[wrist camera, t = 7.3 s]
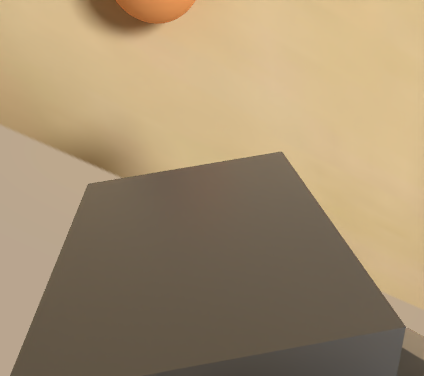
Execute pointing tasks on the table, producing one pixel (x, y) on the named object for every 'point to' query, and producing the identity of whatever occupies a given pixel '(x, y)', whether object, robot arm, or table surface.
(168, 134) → the table surface
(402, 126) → the table surface
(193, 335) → the grey rectangular prism
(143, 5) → the ball
